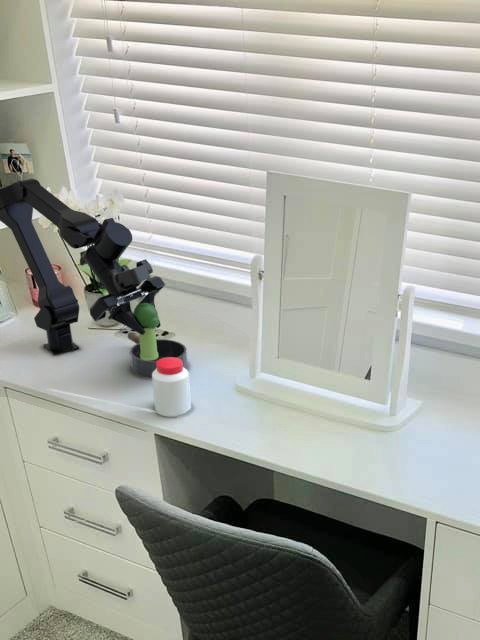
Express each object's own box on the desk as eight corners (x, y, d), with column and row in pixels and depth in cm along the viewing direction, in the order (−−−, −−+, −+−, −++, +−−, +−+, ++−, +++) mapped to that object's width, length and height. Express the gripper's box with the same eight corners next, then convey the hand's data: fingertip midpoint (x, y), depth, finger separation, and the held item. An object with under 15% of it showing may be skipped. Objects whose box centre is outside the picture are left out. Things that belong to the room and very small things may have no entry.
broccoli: (130, 357, 176) (125, 303, 169) (146, 349, 180) (142, 297, 173) (152, 364, 174) (147, 310, 167) (167, 356, 178) (163, 303, 171)
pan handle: (126, 339, 194) (125, 332, 193) (133, 337, 195) (132, 330, 194) (143, 349, 189) (142, 343, 188) (149, 348, 190) (148, 341, 189)
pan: (121, 364, 188) (119, 347, 185) (168, 351, 195) (167, 335, 193) (150, 384, 180) (148, 366, 178) (198, 370, 188) (197, 352, 185)
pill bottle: (147, 411, 169) (143, 365, 163) (168, 397, 175) (164, 352, 169) (178, 420, 167) (174, 373, 161) (198, 405, 173) (195, 359, 167)
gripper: (93, 260, 158) (139, 325, 160) (155, 240, 172) (197, 299, 174) (69, 289, 166) (114, 350, 168) (131, 267, 180) (172, 324, 182)
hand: (151, 330), depth 173 cm, fingers closed on broccoli, 4 cm apart
